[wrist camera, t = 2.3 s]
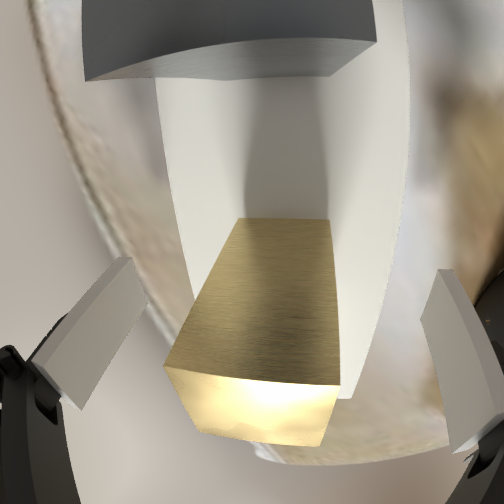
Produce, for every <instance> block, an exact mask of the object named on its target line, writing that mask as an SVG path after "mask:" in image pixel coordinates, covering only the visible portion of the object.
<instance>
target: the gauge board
mask: <svg viewBox="0 0 504 504" xmlns="http://www.w3.org/2000/svg"><path fill="white" fill-rule="evenodd" d="M372 2H373V9H374V17H375V26H376V35H377V43H375V44H374V45H372V46H371V47H369V48H368V49H367V50H365V51H364V52H362V53H361V54H360V55H358V56H357V57H355V58H354V59H353V60H351V61H350V62H349V63H347V64H346V65H345V66H343V67H342V68H340V69H339V70H338V71H337V72H335V73H334V74H333V75H331V76H330V77H313V76H296V77H267V78H252V79H240V80H231V81H221V80H209V79H193V78H155V85H156V94H157V102H158V110H159V118H160V125H161V132H162V139H163V146H164V152H165V158H166V164H167V170H168V176H169V182H170V187H171V193H172V198H173V203H174V209H175V214H176V219H177V224H178V228H179V233H180V238H181V243H182V247H183V252H184V256H185V261H186V265H187V269H188V273H189V278H190V282H191V286H192V290H193V294H194V298H195V300H196V298H197V296H198V294H199V292H200V290H201V288H202V286H203V285H204V283H205V281H206V279H207V277H208V275H209V273H210V271H211V269H212V267H213V265H214V263H215V261H216V259H217V257H218V256H219V254H220V252H221V250H222V248H223V246H224V244H225V242H226V240H227V238H228V237H229V235H230V233H231V231H232V229H233V227H234V225H235V223H236V222H237V220H238V218H286V219H323V220H330V226H331V235H332V244H333V253H334V263H335V275H336V287H337V301H338V318H339V340H340V389H339V392H338V395H337V398H336V399H351V397H352V395H353V392H354V389H355V387H356V384H357V382H358V379H359V376H360V374H361V371H362V368H363V365H364V362H365V359H366V357H367V354H368V351H369V348H370V344H371V341H372V338H373V335H374V332H375V328H376V325H377V322H378V318H379V315H380V311H381V307H382V304H383V300H384V296H385V292H386V288H387V284H388V280H389V276H390V271H391V267H392V262H393V257H394V252H395V247H396V242H397V237H398V231H399V225H400V219H401V213H402V206H403V198H404V190H405V182H406V172H407V161H408V148H409V130H410V71H409V53H408V41H407V31H406V23H405V15H404V8H403V2H402V0H372Z"/></svg>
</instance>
